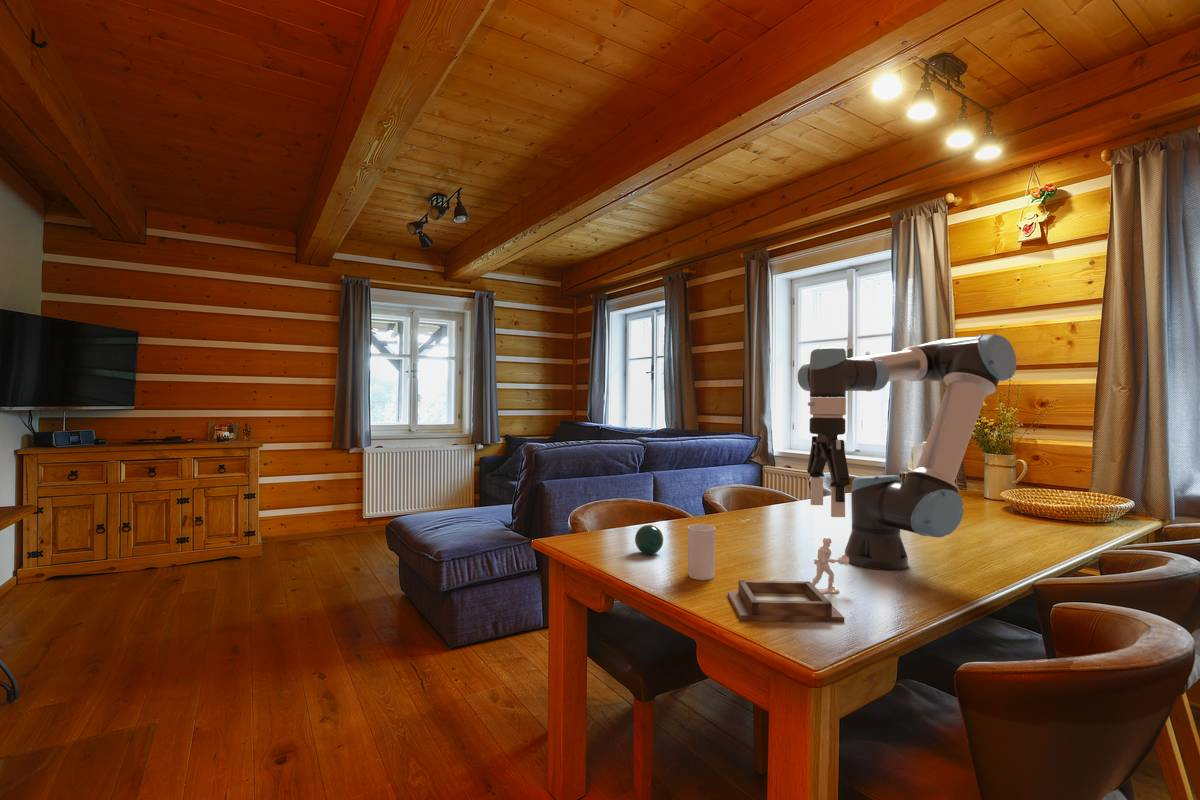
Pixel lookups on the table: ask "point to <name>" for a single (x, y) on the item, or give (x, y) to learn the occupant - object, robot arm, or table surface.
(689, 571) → the mug
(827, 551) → the figurine
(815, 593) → the brown picture frame
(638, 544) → the sphere
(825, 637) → the table surface
